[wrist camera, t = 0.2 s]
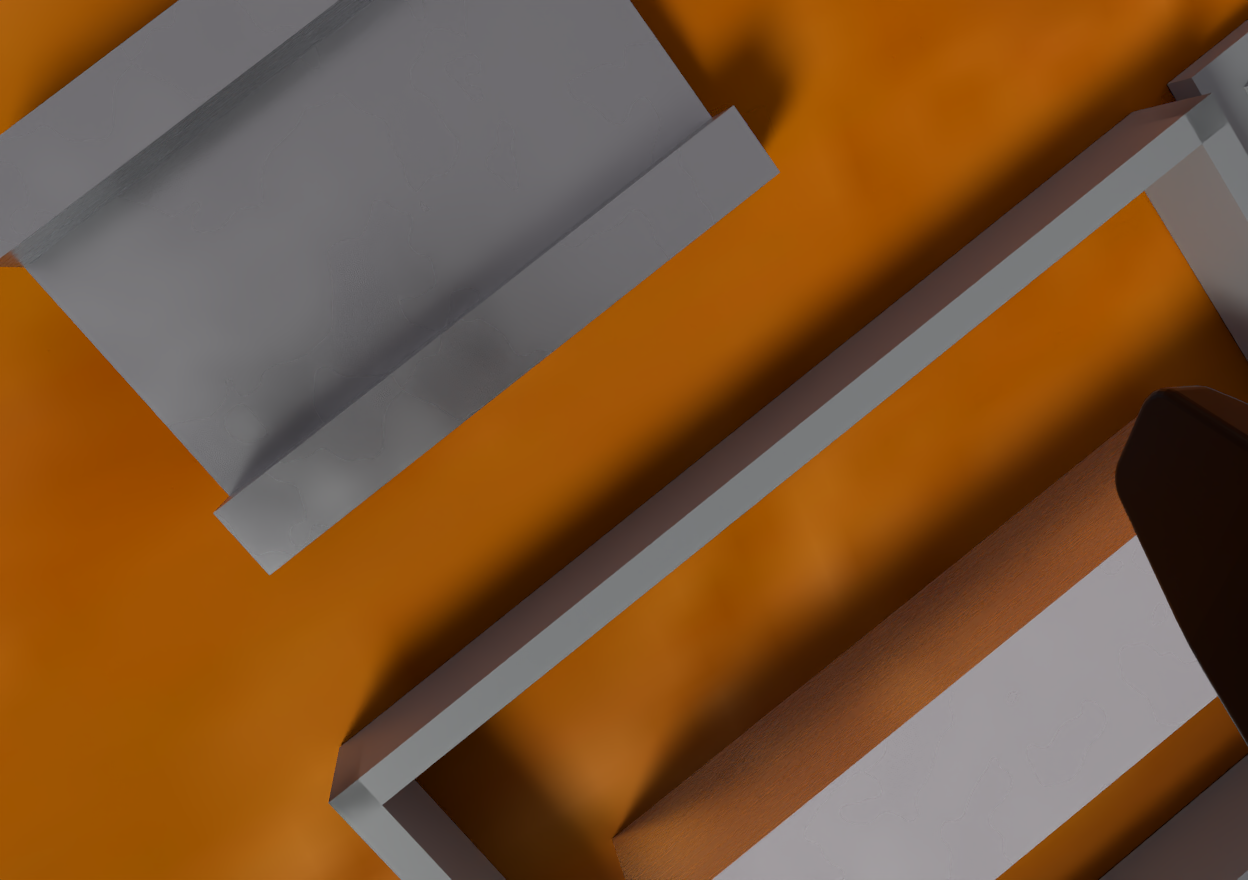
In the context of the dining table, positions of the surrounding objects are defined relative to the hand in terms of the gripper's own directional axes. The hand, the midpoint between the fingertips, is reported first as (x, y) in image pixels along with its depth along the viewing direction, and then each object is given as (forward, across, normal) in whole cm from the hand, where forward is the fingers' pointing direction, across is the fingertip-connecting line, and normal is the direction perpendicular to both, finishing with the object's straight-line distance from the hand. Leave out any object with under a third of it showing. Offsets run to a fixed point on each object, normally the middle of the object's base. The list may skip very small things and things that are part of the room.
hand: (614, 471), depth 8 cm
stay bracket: (+14, +2, +4) cm, 15 cm away
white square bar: (+9, -10, +14) cm, 19 cm away
